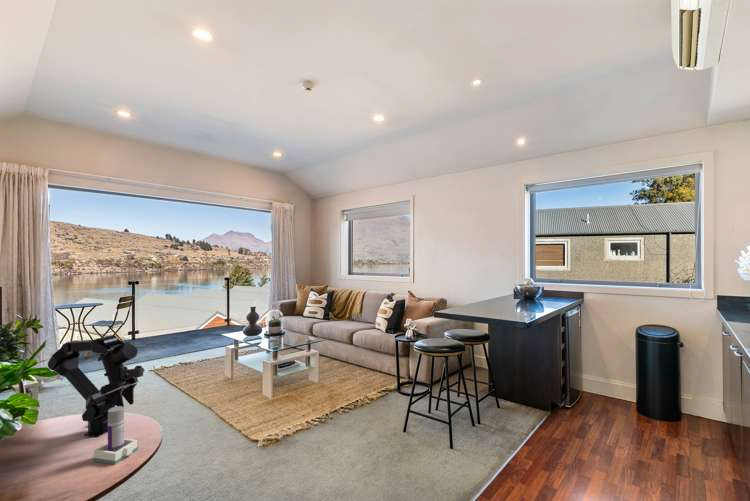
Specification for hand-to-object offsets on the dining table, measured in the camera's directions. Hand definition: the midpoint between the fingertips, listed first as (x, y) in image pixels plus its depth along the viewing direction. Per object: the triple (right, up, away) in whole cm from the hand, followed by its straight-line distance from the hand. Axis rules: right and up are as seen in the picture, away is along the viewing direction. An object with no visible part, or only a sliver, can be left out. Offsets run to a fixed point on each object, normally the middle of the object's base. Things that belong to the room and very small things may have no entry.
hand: (127, 406), depth 136 cm
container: (+4, -11, -11) cm, 16 cm away
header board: (+4, -12, -11) cm, 17 cm away
